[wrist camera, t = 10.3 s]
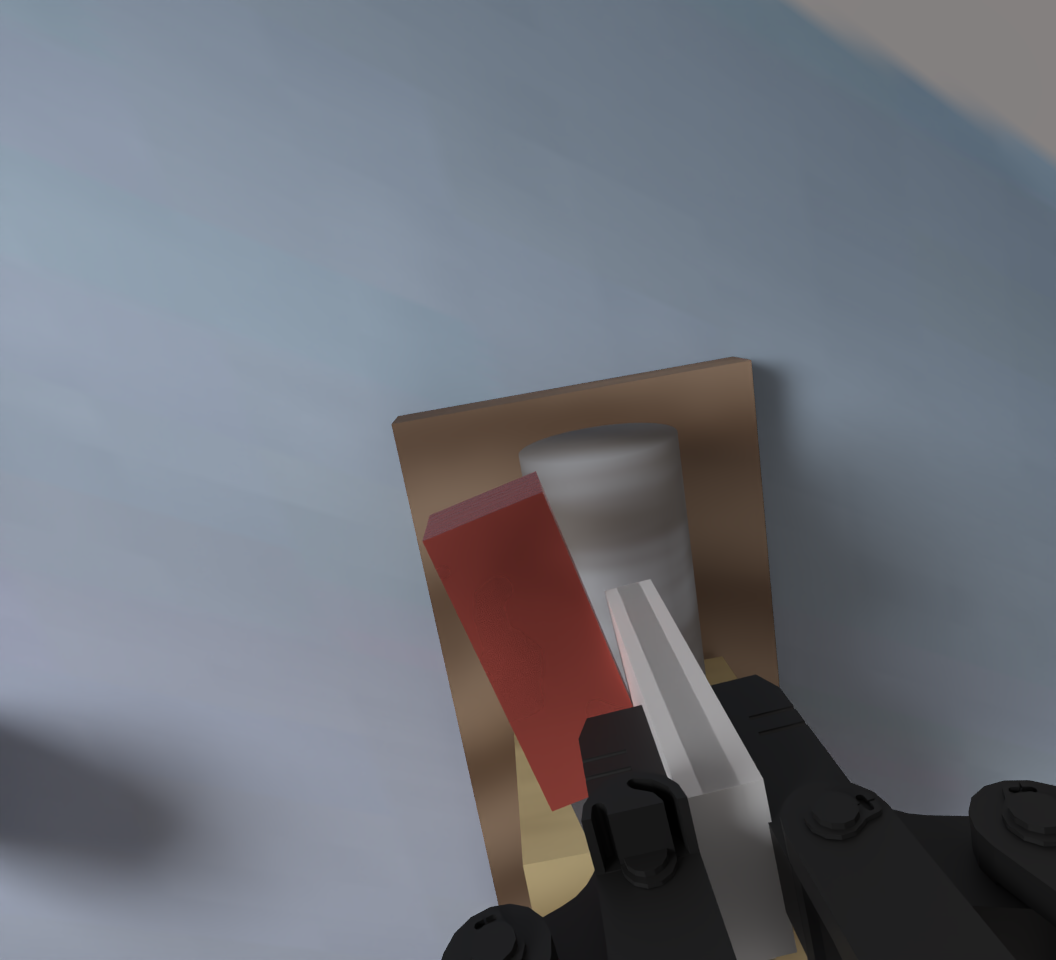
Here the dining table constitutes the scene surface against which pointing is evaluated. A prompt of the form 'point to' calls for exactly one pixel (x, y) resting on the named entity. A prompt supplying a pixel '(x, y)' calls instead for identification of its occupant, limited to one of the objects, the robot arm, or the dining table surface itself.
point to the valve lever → (529, 626)
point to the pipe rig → (602, 560)
